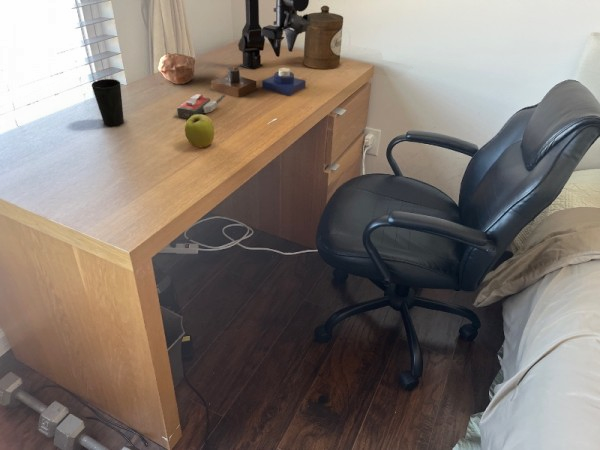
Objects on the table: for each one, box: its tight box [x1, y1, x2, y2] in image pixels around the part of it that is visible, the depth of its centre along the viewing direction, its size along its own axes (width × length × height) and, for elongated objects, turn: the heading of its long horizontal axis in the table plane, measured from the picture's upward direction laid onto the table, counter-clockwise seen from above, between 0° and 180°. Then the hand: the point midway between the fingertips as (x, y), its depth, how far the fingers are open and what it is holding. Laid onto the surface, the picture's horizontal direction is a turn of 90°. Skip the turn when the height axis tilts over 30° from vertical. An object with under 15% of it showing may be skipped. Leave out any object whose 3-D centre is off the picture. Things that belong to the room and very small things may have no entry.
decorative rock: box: [157, 52, 196, 85], centre depth 170 cm, size 13×11×10 cm
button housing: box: [261, 71, 307, 97], centre depth 170 cm, size 12×10×5 cm
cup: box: [91, 78, 125, 128], centre depth 139 cm, size 8×8×12 cm
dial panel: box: [211, 74, 257, 98], centre depth 167 cm, size 12×10×3 cm
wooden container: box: [303, 5, 344, 70], centre depth 189 cm, size 15×15×22 cm
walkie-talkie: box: [176, 93, 226, 120], centre depth 152 cm, size 9×4×20 cm
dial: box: [227, 66, 241, 83], centre depth 165 cm, size 4×4×4 cm
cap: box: [278, 67, 291, 77], centre depth 168 cm, size 4×4×2 cm
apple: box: [184, 114, 215, 148], centre depth 130 cm, size 8×8×10 cm
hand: (284, 54), depth 164 cm, fingers open, 7 cm apart
